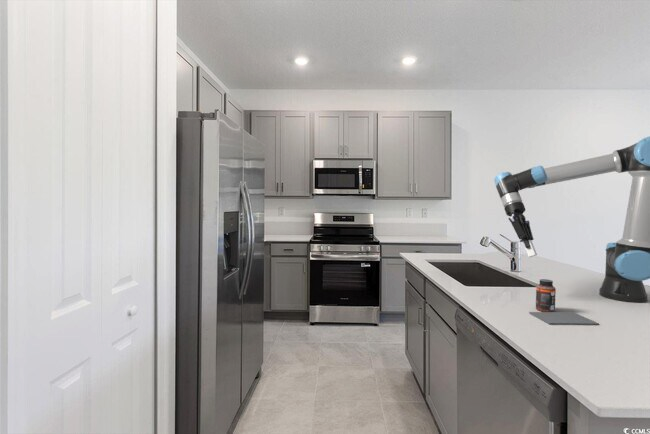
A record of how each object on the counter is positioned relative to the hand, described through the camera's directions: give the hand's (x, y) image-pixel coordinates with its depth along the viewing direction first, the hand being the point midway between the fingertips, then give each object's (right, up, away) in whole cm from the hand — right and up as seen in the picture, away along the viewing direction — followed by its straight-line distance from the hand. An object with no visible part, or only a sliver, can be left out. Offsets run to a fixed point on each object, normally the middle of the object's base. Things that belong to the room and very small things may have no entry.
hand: (532, 255), depth 134 cm
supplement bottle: (-3, -19, -12) cm, 23 cm away
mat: (-3, -19, -21) cm, 29 cm away
